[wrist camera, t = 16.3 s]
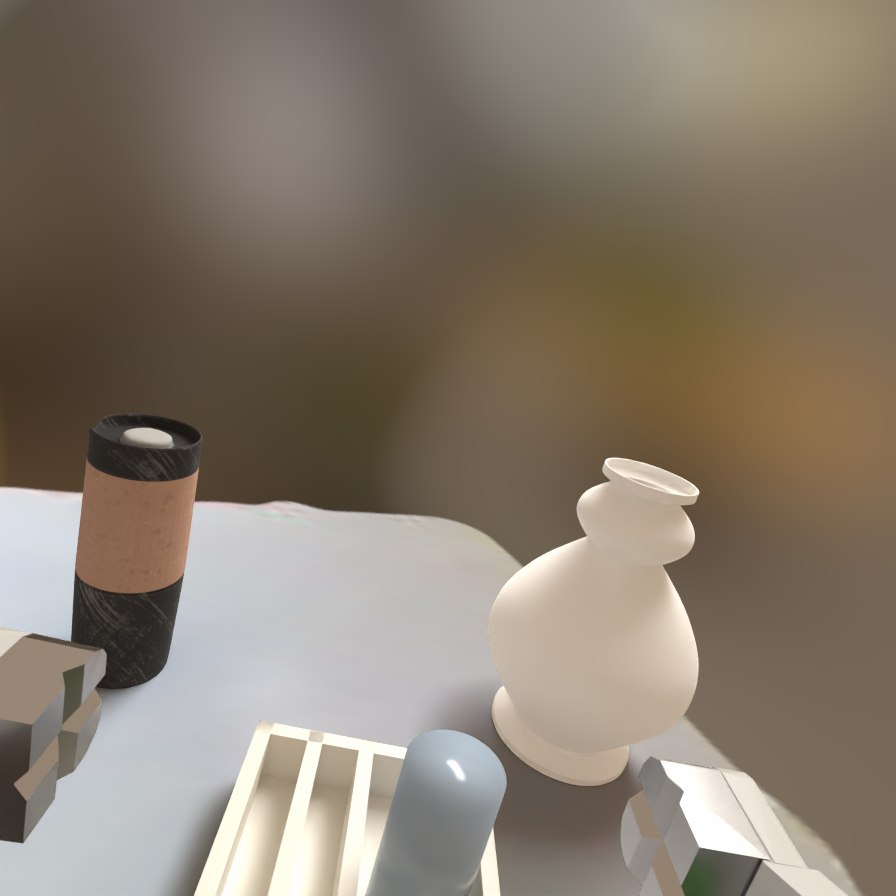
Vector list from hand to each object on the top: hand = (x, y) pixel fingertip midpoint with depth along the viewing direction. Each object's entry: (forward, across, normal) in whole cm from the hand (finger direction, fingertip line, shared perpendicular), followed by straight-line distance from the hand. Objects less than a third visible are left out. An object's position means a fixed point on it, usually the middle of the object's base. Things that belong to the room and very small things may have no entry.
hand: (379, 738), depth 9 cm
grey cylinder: (+19, -6, +29) cm, 35 cm away
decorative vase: (+39, -20, +30) cm, 53 cm away
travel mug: (+37, +18, +30) cm, 51 cm away
